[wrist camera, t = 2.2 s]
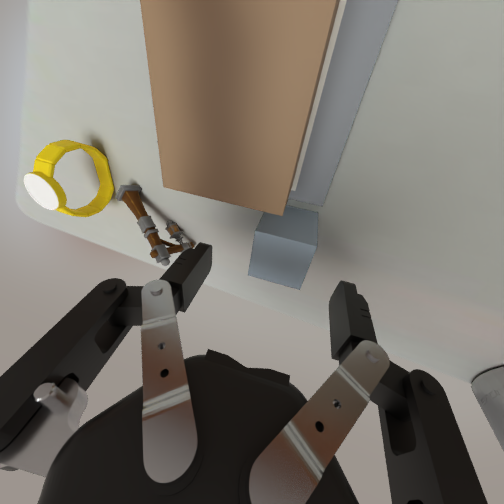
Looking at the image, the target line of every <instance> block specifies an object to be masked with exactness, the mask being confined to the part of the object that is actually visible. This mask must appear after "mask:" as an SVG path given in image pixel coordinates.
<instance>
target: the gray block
mask: <svg viewBox="0 0 504 504" xmlns="http://www.w3.org/2000/svg"><path fill="white" fill-rule="evenodd" d="M317 235H318V213H317V212H313V211H309V210H305V209H300V208H296V207H292V206H288V205H286V207H285V210H284V213H283V216H279V215H275V214H271V213H267V212H264V214H263V216H262V218H261V220H260V222H259V224H258V226H257V228H256V230H255V235H254V241H253V247H252V253H251V259H250V265H249V271H248V275H249V276H253V277H256V278H260V279H263V280H267V281H270V282H274V283H277V284H281V285H284V286H288V287H291V288H295V289H298V290H300V288H301V286H302V283H303V281H304V278H305V276H306V273H307V271H308V268H309V266H310V263H311V261H312V258H313V256H314V253H315V251H316V248H317Z"/></svg>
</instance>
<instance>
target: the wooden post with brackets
mask: <svg viewBox="0 0 504 504" xmlns="http://www.w3.org/2000/svg"><path fill="white" fill-rule="evenodd" d="M140 191H141V187H140V186H139V185H121V186H120V188H119V190H118V192H117V194H116V196H115V198H116V199H117V201H124V202H125V203H126V204H127V206H128V207H129V208H130V210H131V211H132V212H133V214H134V215H135V216H136V218H137V220H138V222H137V223H138V225H139V226H140V228H141V230H142V233H145V235H144V237H145V238H147V239H148V241H149V243H150V245H151V247H152V250H151V251H152V252H151V253H150V255H151V257H152V258H156V261H157V263H159V262H161V263H162V265H164V266H167V265H169V263H170V260H169V259H168V258H169V257H170V254H173V253H177V252H183V251H185V250H187V249H189V248H193V247H194V244H193V243H192V242H190V243H187V242H186V243H183V242H182V240H181V239H182V238H183V237H181V236H180V235H181V233H182V232H183V231H180V230H179V228H178V226H177V223H173V222H172V221H168V222H167V228H166V229H165V230H167V231H168V232H169V234H170V235H171V237H170V239H171V238H175V239H177V240H176V241H178V242H179V241H180V240H181V241H180V242H179V243H180V245H175V244H172V243H169V242H167V241H164V240H162V239H160V238H159V235H158V232H159V231H158V229H155V227H156V225H155V224H154V222H153V221H152V219H151V216H148V214H147V212H146V211H145V208H144V206H143V203H142V201H141V199H140V196H139V193H140ZM180 237H181V238H180ZM181 243H182V244H181ZM165 245H166V246H169V247H168V248H166V247H165Z"/></svg>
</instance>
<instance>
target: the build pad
mask: <svg viewBox="0 0 504 504" xmlns="http://www.w3.org/2000/svg"><path fill="white" fill-rule="evenodd" d="M397 3H398V0H340V2H339V6H338V10H337V14H336V18H335V22H334V26H333V30H332V34H331V37H330V41H329V45H328V49H327V53H326V57H325V61H324V65H323V69H322V72H321V76H320V80H319V84H318V88H317V92H316V96H315V100H314V104H313V108H312V111H311V115H310V119H309V123H308V127H307V131H306V135H305V139H304V143H303V146H302V150H301V154H300V158H299V162H298V166H297V170H296V174H295V178H294V181H293V185H292V189H291V192H290V195H289V198H288V199H292V200H296V201H301V202H305V203H309V204H314V205H318V206H323V203H324V201H325V198H326V195H327V193H328V190H329V187H330V184H331V182H332V179H333V176H334V174H335V171H336V168H337V165H338V163H339V160H340V157H341V155H342V152H343V149H344V146H345V144H346V141H347V138H348V136H349V133H350V130H351V127H352V125H353V122H354V119H355V117H356V114H357V111H358V108H359V106H360V103H361V100H362V98H363V95H364V92H365V89H366V87H367V84H368V81H369V79H370V76H371V73H372V70H373V68H374V65H375V62H376V60H377V57H378V54H379V51H380V49H381V46H382V43H383V41H384V38H385V35H386V32H387V30H388V27H389V24H390V22H391V19H392V16H393V13H394V11H395V8H396V5H397Z"/></svg>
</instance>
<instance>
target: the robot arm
mask: <svg viewBox="0 0 504 504" xmlns="http://www.w3.org/2000/svg"><path fill="white" fill-rule="evenodd" d="M211 266H212V245H209V244H205V243H201V242H200V243H199V244H198V245H197V246H196V247H195V249H192V248H189V249H187V250H185V251H183V252H182V253H181V255H180V256H179V257H178V258H177V259H176V260H175V262H174V263H173V264H172V265H171V266H170V267H169V269H168V270H167V271H166V272H165V273H164V274H163V276H162V277H161V278H160V279H159V280H154V281H151V282H149V283H147V284H146V285H145V286H126V283H125V282H124V281H123V280H122V279H117V278H113V279H108V280H105V281H103V282H101V283H99V284H98V285H97V286H96V287H95V288H94V289H93V290H92V291H91V292H90V293H88V294H87V296H85V297H84V298H83V299H82V300H81V301H80V302H79V303H78V304H77V305H76V306H75V307H74V308H73V309H72V310H70V312H68V313H67V314H66V315H65V316H64V317H63V318H62V319H61V320H60V321H59V322H58V323H57V324H56V325H55V326H54V327H53V328H52V329H50V330H49V331H48V332H47V333H46V334H45V335H44V336H43V337H42V338H41V339H40V340H39V341H38V342H37V343H36V344H35V345H34V346H33V347H31V349H29V350H28V351H27V352H26V353H25V354H24V355H23V356H22V357H21V358H20V359H19V360H18V361H17V362H16V363H15V364H14V365H12V366H11V367H10V368H9V369H8V370H7V371H6V372H5V373H4V374H3V375H2V376H1V377H0V469H3V470H7V471H15V470H18V469H21V470H24V471H27V472H30V473H33V474H37V475H41V476H43V477H46V479H45V482H44V485H43V489H42V492H41V496H40V498H39V501H38V504H359V503H358V501H357V499H356V497H355V495H354V493H353V491H352V489H351V487H350V485H349V483H348V481H347V479H346V477H345V475H344V473H343V471H342V469H341V467H340V465H339V463H338V461H337V459H336V457H335V453H336V452H337V450H338V449H339V447H340V446H341V444H342V442H343V441H344V439H345V438H346V436H347V434H348V433H349V432H350V430H351V429H352V427H353V426H354V424H355V423H356V421H357V419H358V418H359V417H360V415H361V414H362V412H363V411H364V409H365V408H366V406H367V405H368V403H369V401H370V400H371V401H372V402H374V403H375V404H377V405H378V409H379V416H380V423H381V430H382V436H383V443H384V451H385V458H386V464H387V471H388V477H389V485H390V492H391V499H392V504H488V503H487V501H486V498H485V496H484V493H483V490H482V488H481V485H480V482H479V480H478V477H477V475H476V472H475V469H474V467H473V464H472V461H471V459H470V456H469V453H468V451H467V448H466V445H465V443H464V440H463V438H462V435H461V432H460V430H459V427H458V425H457V423H456V420H455V417H454V414H453V412H452V409H451V406H450V403H449V401H448V398H447V396H446V393H445V391H444V389H443V387H442V386H441V385H440V383H439V382H438V381H437V380H436V379H435V378H434V377H432V376H431V375H430V374H428V373H427V372H425V371H422V370H418V369H416V370H413V371H411V372H408V371H406V370H405V369H403V368H401V367H400V366H398V365H396V364H394V363H393V362H391V361H390V360H389V357H388V355H387V353H386V352H385V351H384V349H383V348H382V347H381V346H379V345H378V344H377V340H376V336H375V331H374V327H373V323H372V319H371V315H370V313H369V307H368V303H367V302H366V300H365V299H364V297H363V296H362V295H360V294H357V289H356V285H355V284H353V283H349V282H345V281H340V282H339V284H338V286H337V287H336V289H335V291H334V293H333V294H332V296H331V298H330V301H329V320H330V337H331V353H332V354H331V355H332V359H335V360H339V367H338V368H337V369H336V371H334V372H333V374H332V375H331V376H330V377H329V378H328V379H327V380H326V381H325V383H324V384H323V385H322V386H321V387H320V388H319V389H318V390H317V391H316V393H315V394H314V395H313V396H312V397H311V398H310V399H309V400H308V401H307V400H306V398H305V397H304V395H303V394H302V393H301V392H300V391H299V390H298V389H297V388H296V387H295V386H294V385H292V384H291V383H290V382H289V379H290V375H287V374H284V373H281V372H277V371H275V370H271V369H263V368H247V367H245V366H243V365H242V364H240V363H239V362H237V361H236V360H234V359H232V358H231V357H229V356H228V355H225V354H222V353H219V352H216V351H213V350H209V349H208V351H207V353H206V355H197V356H192V357H189V358H186V359H184V358H183V352H182V347H181V341H180V335H179V329H178V324H177V318H176V314H177V313H178V311H182V312H185V311H186V310H187V308H188V307H189V305H190V303H191V302H192V300H193V298H194V297H195V295H196V293H197V292H198V290H199V288H200V287H201V285H202V284H203V282H204V280H205V279H206V277H207V275H208V274H209V272H210V269H211ZM137 325H138V326H139V325H140V326H141V345H142V347H141V349H142V378H143V386H142V387H140V388H139V389H137V390H136V391H134V392H132V393H131V394H129V395H128V396H126V397H125V398H123V399H122V400H120V401H118V402H117V403H116V404H114V405H112V406H111V407H109V408H108V409H106V410H105V411H103V412H101V413H100V414H98V415H97V416H95V417H94V418H92V419H91V420H89V421H88V422H86V423H85V424H84V425H82V426H81V427H80V428H79V422H80V418H81V416H82V414H83V412H84V410H85V408H86V406H87V402H88V396H87V393H86V390H87V389H88V387H89V386H90V385H91V383H92V382H93V380H94V379H95V378H96V376H97V374H98V373H99V372H100V371H101V369H102V368H103V367H104V365H105V364H106V362H107V361H108V360H109V358H110V356H111V355H112V354H113V353H114V351H115V350H116V348H117V347H118V346H119V344H120V343H121V342H122V340H123V339H124V337H125V336H126V334H127V333H128V332H129V330H130V329H131V328H132V326H137ZM471 387H472V391H473V393H474V395H475V397H476V399H477V401H478V402H479V404H480V406H481V408H482V410H483V412H484V414H485V416H486V418H487V420H488V422H489V424H490V426H491V427H492V429H493V431H494V434H495V436H496V437H497V439H498V441H499V443H500V445H501V447H502V449H503V451H504V367H500V368H497V369H493V370H490V371H488V372H485V373H483V374H481V375H480V376H478V377H477V378H476V379H475V380H474V381H473V382H472V386H471Z"/></svg>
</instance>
